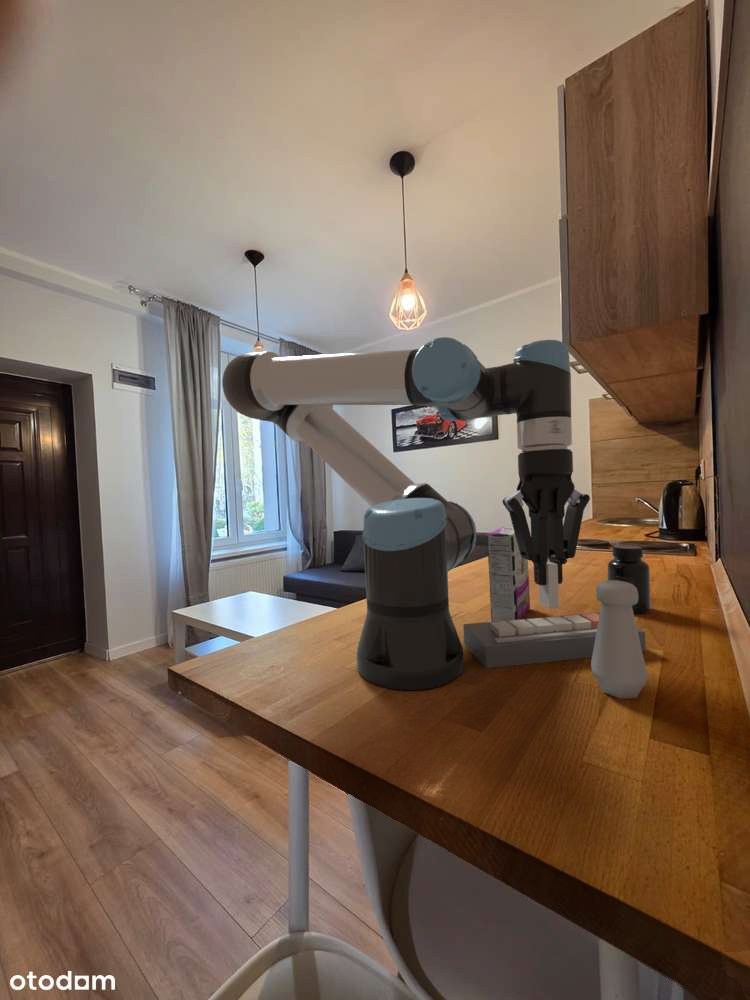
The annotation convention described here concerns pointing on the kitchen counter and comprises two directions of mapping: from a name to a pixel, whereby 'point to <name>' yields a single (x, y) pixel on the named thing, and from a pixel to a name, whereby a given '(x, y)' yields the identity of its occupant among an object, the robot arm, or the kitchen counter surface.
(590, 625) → the gray button panel
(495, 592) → the candy bar box
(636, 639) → the salt shaker
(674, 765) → the kitchen counter surface
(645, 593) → the supplement bottle
